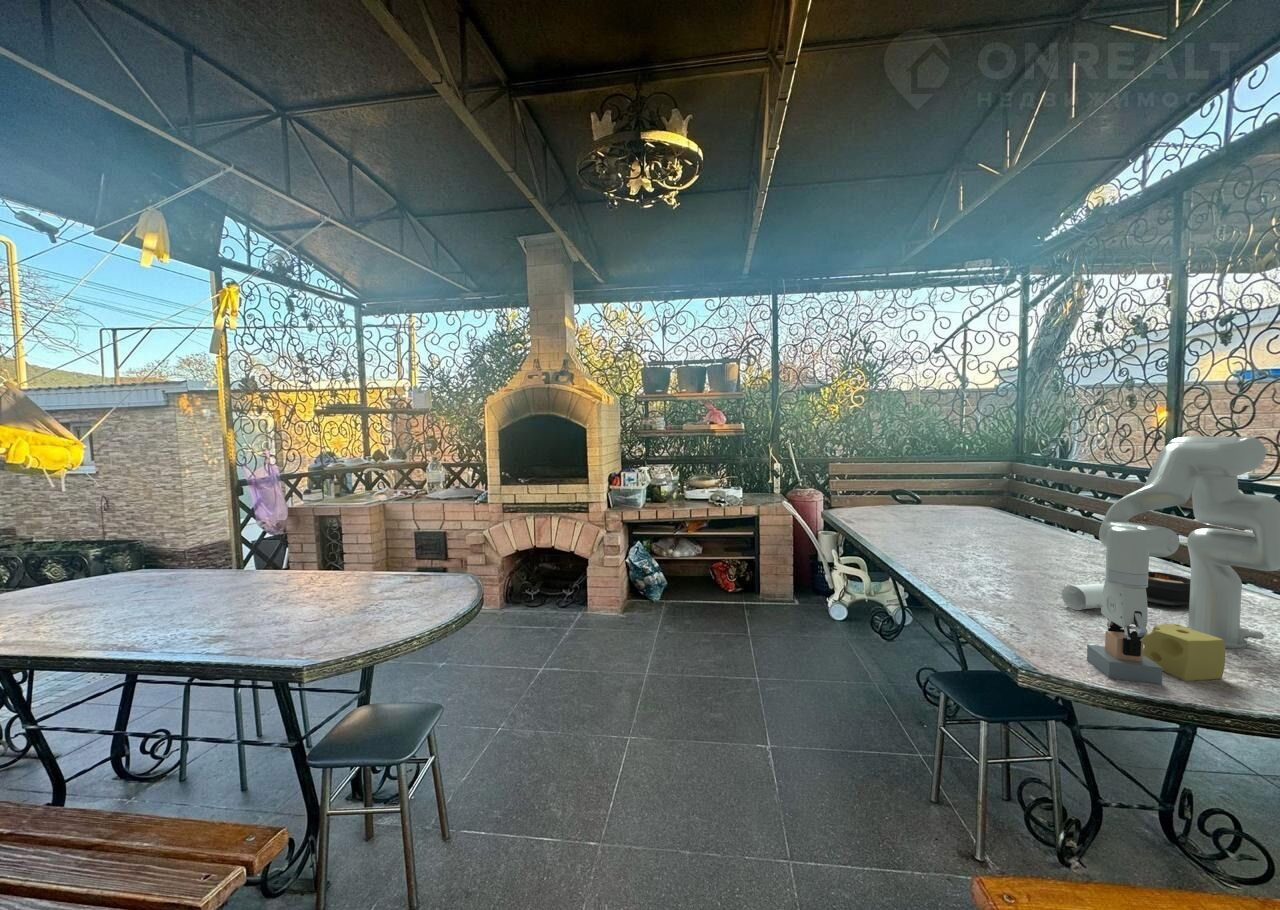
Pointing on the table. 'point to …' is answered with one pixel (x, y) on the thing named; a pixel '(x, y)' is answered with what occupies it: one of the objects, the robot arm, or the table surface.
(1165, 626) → the cheese
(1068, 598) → the white hollow cylinder
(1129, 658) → the cube
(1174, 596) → the casserole
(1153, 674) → the pedestal
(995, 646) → the table surface
